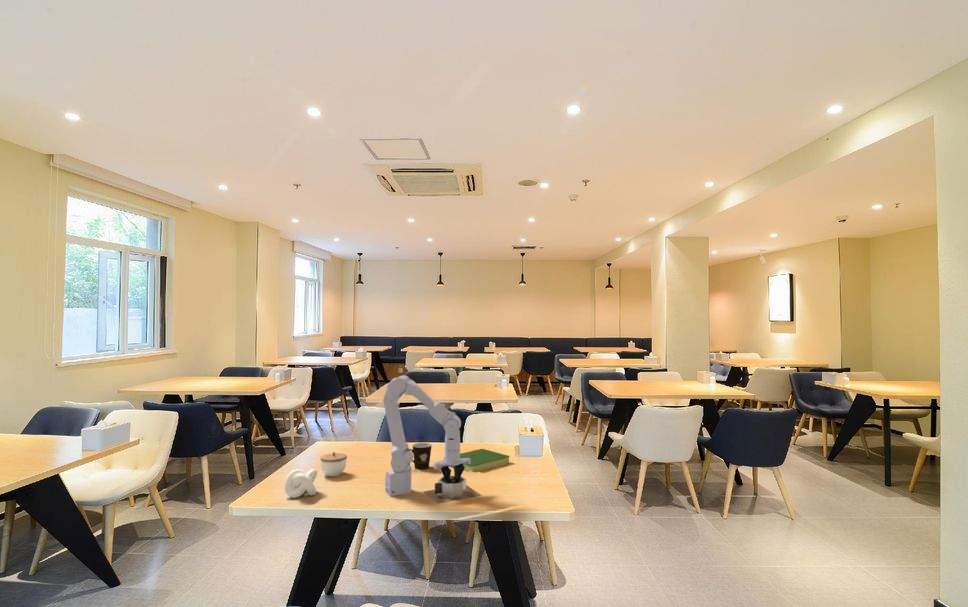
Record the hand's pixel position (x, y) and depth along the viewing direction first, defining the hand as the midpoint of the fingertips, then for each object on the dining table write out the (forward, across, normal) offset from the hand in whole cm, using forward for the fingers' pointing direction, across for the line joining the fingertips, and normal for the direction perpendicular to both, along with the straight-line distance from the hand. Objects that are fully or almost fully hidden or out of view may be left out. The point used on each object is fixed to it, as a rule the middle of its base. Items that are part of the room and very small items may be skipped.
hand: (452, 485), depth 178 cm
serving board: (+4, 0, 0) cm, 4 cm away
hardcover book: (+4, +28, +33) cm, 44 cm away
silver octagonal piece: (+3, -1, 0) cm, 3 cm away
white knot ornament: (+4, -50, +27) cm, 57 cm away
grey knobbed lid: (+2, 0, 0) cm, 2 cm away
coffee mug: (+4, +2, +40) cm, 40 cm away
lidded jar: (+4, -34, +47) cm, 58 cm away
